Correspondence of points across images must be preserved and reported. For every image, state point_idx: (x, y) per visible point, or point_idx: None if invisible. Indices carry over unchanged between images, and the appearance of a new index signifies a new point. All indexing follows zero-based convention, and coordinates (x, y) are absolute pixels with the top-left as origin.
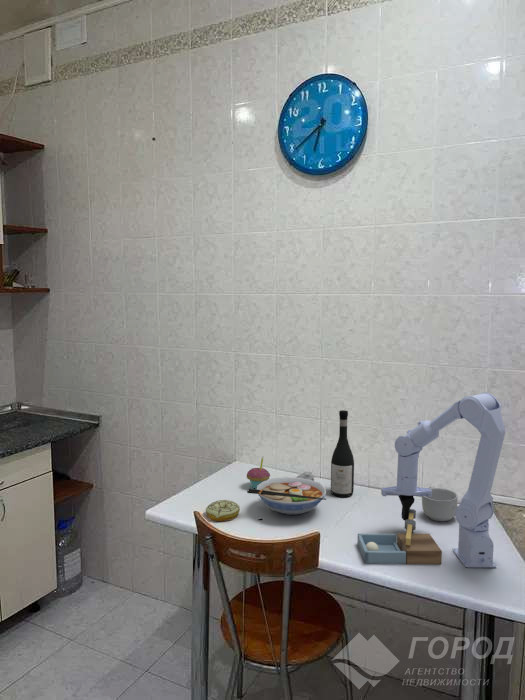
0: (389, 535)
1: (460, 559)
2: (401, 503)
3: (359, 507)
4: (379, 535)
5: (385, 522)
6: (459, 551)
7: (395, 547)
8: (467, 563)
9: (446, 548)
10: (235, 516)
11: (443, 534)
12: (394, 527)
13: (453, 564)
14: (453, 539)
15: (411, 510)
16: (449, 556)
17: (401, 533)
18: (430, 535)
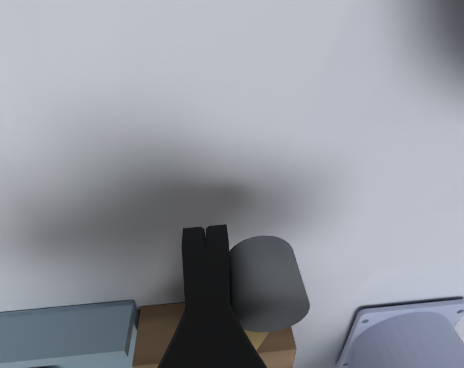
0: (94, 358)
1: (344, 353)
2: (171, 348)
3: None
4: (42, 363)
5: (61, 58)
6: (360, 358)
7: (130, 342)
8: (350, 365)
9: (344, 299)
10: None
11: (418, 201)
12: (140, 144)
13: (310, 358)
14: (429, 239)
15: (270, 309)
16: (323, 333)
17: (154, 363)
18: (293, 359)
